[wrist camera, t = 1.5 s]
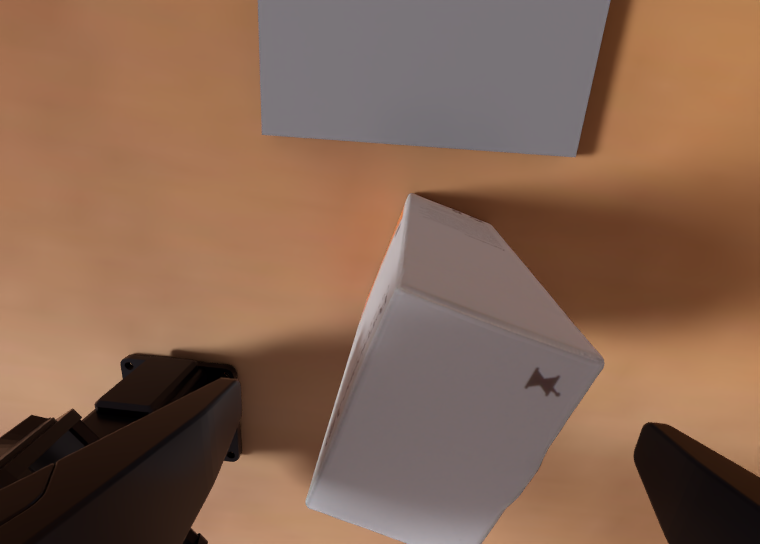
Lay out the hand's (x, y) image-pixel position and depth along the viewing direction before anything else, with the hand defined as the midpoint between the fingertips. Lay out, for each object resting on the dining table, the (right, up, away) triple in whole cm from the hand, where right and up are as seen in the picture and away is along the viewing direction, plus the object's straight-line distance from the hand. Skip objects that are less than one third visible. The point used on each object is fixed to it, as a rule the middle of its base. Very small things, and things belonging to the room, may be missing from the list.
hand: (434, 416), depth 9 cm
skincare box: (+1, +4, +11) cm, 11 cm away
